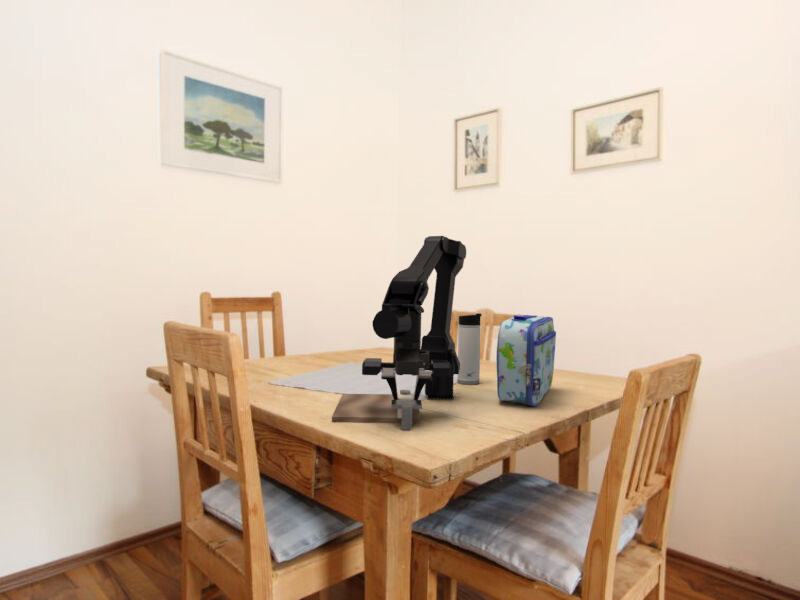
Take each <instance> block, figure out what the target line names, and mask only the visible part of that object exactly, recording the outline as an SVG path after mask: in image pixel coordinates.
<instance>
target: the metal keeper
mask: <svg viewBox="0 0 800 600" xmlns="http://www.w3.org/2000/svg"><path fill="white" fill-rule="evenodd" d="M391 409H402V420H401V423H400V424H401V429H400V430H402V431H413V423H412V409H419V410H422V409H423V403H422V399H418V400H392V404H391Z"/></svg>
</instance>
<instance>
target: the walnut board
mask: <svg viewBox="0 0 800 600" xmlns="http://www.w3.org/2000/svg"><path fill="white" fill-rule="evenodd" d="M399 392H400V394H403V395H408V394H410V392H411V389H400V390H399ZM392 400H394V399H393V395H392V393H391V394H389V393H385V394H384V393H342V395H341V396H340V399H339V401H338V403H337V404H336V407H335V409H334V412H333V413H332V415H331V423H388V424H389V423H392V424H393V423H394V424H396V423H400V424H401V420H402V418H397V409H391V404H392ZM420 410H421V409H412V424H414V423H415V424H416V423H417V424H421V422H422V415H421V411H420Z"/></svg>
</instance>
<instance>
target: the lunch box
mask: <svg viewBox="0 0 800 600" xmlns="http://www.w3.org/2000/svg"><path fill="white" fill-rule="evenodd" d="M556 338H557V331H556V330H555V325H554V319H553V317H551V316H543V315H529V314H524V315H516V314H514V315H513V317H510V318H508V319H506V320H504V321H502V322H501V323H500V327H499V330H498V334H497V343H496V344H497V345H496V382H497V384H496V385H497V387H496V388H497V390H496V393H497V397H498V400H499V401H501V402H506V401H507V402H509V403H516V404H517V403H518V404H520V403H521V404H524V405H528V406H530V407H537V406H538V405H539V404H540V402H541V400H543V399H542V398H543V397H544V396H545V395H546V393H547V392H548V391H549V390H550V389H551V387H552V383H553V379H554V377H553V376H554V369H555V368H554V366H555V353H556V340H557V339H556Z"/></svg>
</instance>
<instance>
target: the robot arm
mask: <svg viewBox="0 0 800 600" xmlns="http://www.w3.org/2000/svg"><path fill="white" fill-rule="evenodd" d="M466 258H467V248H466V245H465V244H463V243H462V241H460V240H455V239H451V238H448V237H447V236H444V235H434V236H433V235H432V236H431V235H430V236H429V235H428V236H427V237H425V238H424V241H423V245H422V247H421V248H420V249H419V251H418V253H417V254H416V255H415V257H414V258H413V260H412V262H411V263H410V265H408V266H407V268H405V269H402V270H399V271H398V272H397V273H396V275H394V276H393V278H392V279H391V281H390V282H389V286H388V288H387V290H386V293H385V296H384V299H383V301H382V304H381V310H379V311H377V312H376V314H375V316H374V317H373V320H372V328H373V331H374V333H375V335H376V336H378V338H381V339H384V340H388V339H393V354H392V356H393V357H392V358H393V359H392V362H385V361H384V362H382V358H379V357H378V358H377V357H375V358H374V357H373V358H372V357H371V358H370V357H366V358H364V360H363V361H362V363H361V364H362V365H361V375H363V376H378V375H379V374H380V373H381V375H380V377H381V380H386V382H387V384H388V386H389V389H390V391H391V394H392V395H393V399H394V400H398V394H397V393H398V388H397V387H398V386H397V376H403V375H404V376H405V375H406V376H407V375H408V376H409V375H410V376H415V377H416V378H415V379H416V380H415V385H414V392H413V393H414V399H413V400H420V399H419V398H420V396H421V392H422V390H423V388H424V395H425V396H426V398H427V400H455V395H454V376H455V375H458V374H459V370H460V362H459V360H458V353H457V352H456V343H455V342H454V340H453V337H452V335H451V324H452V315H453V314H452V313H453V305H454V303H453V302H454V295H455V294H454V293H455V285H456V284H455V283H456V277H457V276H458V274H459V273H460V272H461V271H462V269H463V268H464V262H465V259H466ZM434 270H435V273H436V277H435V278H436V279H435V287H434V297H433V306H432V314H431V324H430V331H429V332H428V333H427V334H426V335H423V336H422V314H424V313H425V309H424V307H422V306H423V304H424V301H425V300H426V298H427V296H428V295H429V289H430V288H429V283H428V280H429V277H431V275H432V273H433V271H434ZM421 336H422V337H421ZM396 375H397V376H396Z"/></svg>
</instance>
